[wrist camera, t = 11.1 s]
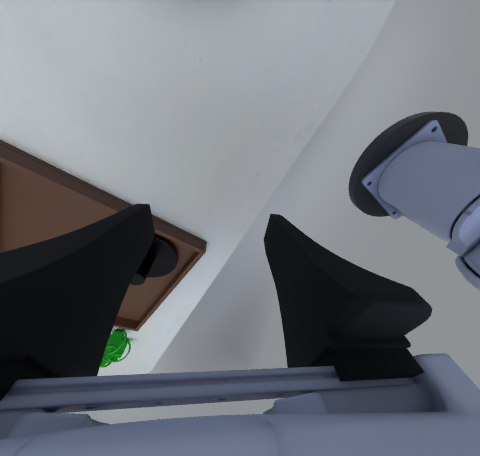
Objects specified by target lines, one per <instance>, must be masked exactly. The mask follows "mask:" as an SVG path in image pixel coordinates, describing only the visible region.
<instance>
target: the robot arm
mask: <svg viewBox="0 0 480 456" xmlns="http://www.w3.org/2000/svg"><path fill="white" fill-rule="evenodd" d="M432 129H433V130H432ZM368 182H369V183H368ZM361 183H362V184H363V185H364V187H365V188H366V189H367V190H368V191H369V192H370V193H371V194H372V196H373V197H374V198H375V199H376V200H377V201H378V202H379V204H380V205H381V206H382V207H383V208H384V209H385V210H386V212H387V213H388V214H389V215H390V216H391V217H392V218H393V219H398V218H400V217H401V216H403V215H404V216H405V217H407V218H408V219H410V220H412V221H413V222H415V223H417V224H418V225H420V226H421V227H423V228H425V229H426V230H428V231H430V232H431V233H433V234H434V235H436V236H438V237H439V238H441V239H443V240H445V241H447V242H449V244H448V245H447V248H449V249H450V250H452V251H453V252H455V253H457V254H458V256H457V258H456V260H455V263H456V266H457V267H458V269H459V271H460V272H461V273H462V275H463V276H464V277H465V279H466V280H467V281H468V282H470V283H471V284H472V285H473V286H474V287H476V288H477V289H478V290H479V291H480V148H473V147H468V146H462V145H455V144H449V143H447V141H446V138H445V136H444V134H443V132H442V129H441V127H440V125H439V123H438V121H437V120H430V121H429V122H427V123H426V124H425V125H424V126H423V127H422V128H420V129H419V130H418V131H417V132H416V133H415V134H413V135H412V136H411V137H410V138H409V139H408V140H406V141H405V142H404V143H403V144H402V145H401V146H400V147H398V148H397V149H396V150H395V151H394V152H393V153H391V154H390V155H389V156H388V157H387V158H386V159H384V160H383V161H382V162H381V163H380V164H379V165H377V166H376V167H375V168H374V169H373V170H372V171H371V172H369V173H368V174H367V175H366V176H365V177H364V178H363V179H362V180H361ZM367 183H368V184H367ZM154 235H155V229H154V224H153V219H152V215H151V210H150V205H149V204H136V205H133V206H130V207H128V208H126V209H124V210H122V211H119V212H117V213H115V214H113V215H111V216H108V217H106V218H104V219H102V220H99V221H97V222H95V223H92V224H90V225H87V226H85V227H83V228H80V229H78V230H75V231H72V232H69V233H66V234H64V235H61V236H58V237H55V238H52V239H48V240H45V241H41V242H38V243H34V244H31V245H27V246H24V247H20V248H17V249H13V250H9V251H5V252H1V253H0V456H480V390H479V389H478V388H477V386H476V385H475V384H474V383H473V382H472V381H471V380H470V378H469V377H468V376H467V375H466V374H465V373H464V372H463V371H462V370H461V368H460V367H459V366H458V365H457V364H456V363H455V362H454V361H453V359H451V357H450V356H449V355H447V354H444V353H442V354H421V355H416V356H412V355H411V353H410V352H409V351H408V349H407V348H409V347H410V346H411V345H410V342H409V341H408V340H407V338H406V337H405V336H404V335H406V334H407V333H408V332H410V331H412V330H413V329H415V328H416V327H418V326H419V325H421V324H422V323H424V322H425V321H426V320H427V319H428V318H429V317H430V316H431V312H432V308H431V306H430V305H429V304H428V303H427V302H426V301H425V300H424V299H423V298H422V297H421V296H420V295H419V294H418V293H417V292H416V291H415V290H414V289H412V288H411V287H408V286H405V285H403V284H400V283H397V282H395V281H392V280H389V279H387V278H384V277H381V276H379V275H377V274H374V273H372V272H370V271H368V270H365V269H363V268H361V267H359V266H357V265H355V264H353V263H351V262H349V261H347V260H345V259H343V258H341V257H339V256H337V255H335V254H334V253H332V252H330V251H329V250H327V249H325V248H324V247H322V246H320V245H319V244H318V243H316V242H314V241H313V240H312V239H311V238H309V237H308V236H306V235H305V234H304V233H303V232H301V231H300V230H299V229H298V228H296V227H295V226H294V225H293V224H291V223H290V222H289V221H287V220H286V219H285V218H284V217H283V216H281V215H276V214H270V218H269V222H268V226H267V229H266V233H265V237H264V245H265V250H266V255H267V258H268V262H269V265H270V269H271V272H272V275H273V279H274V282H275V286H276V290H277V295H278V300H279V306H280V312H281V318H282V324H283V332H284V339H285V348H286V356H287V365H288V368H277V369H252V370H229V371H207V372H184V373H160V374H137V375H114V376H97V374H98V371H99V367H100V364H101V361H102V358H103V355H104V352H105V348H106V345H107V342H108V339H109V337H110V334H111V331H112V328H113V325H114V322H115V320H116V317H117V314H118V312H119V309H120V307H121V304H122V302H123V299H124V297H125V294H126V292H127V290H128V287H129V285H130V283H131V281H132V279H133V277H134V275H135V274H136V272H137V270H138V268H139V266H140V265H141V263H142V261H143V259H144V257H145V256H146V254H147V252H148V250H149V248H150V246H151V243H152V241H153V238H154ZM275 398H283V399H279V400H275V402H274V406H273V407H272V408H271V409H269V410H267V411H266V412H264V413H263V414H256V415H255V414H252V415H219V416H201V417H186V418H185V417H184V418H172V419H159V420H148V421H138V422H128V423H119V424H107V423H102V422H98V421H96V420H93V419H91V417H90V416H89V415H88V414H68V413H66V412H81V411H96V410H111V409H126V408H141V407H155V406H169V405H185V404H199V403H215V402H230V401H244V400H260V399H275Z"/></svg>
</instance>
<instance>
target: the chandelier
mask: <svg viewBox="0 0 480 456" xmlns="http://www.w3.org/2000/svg"><path fill="white" fill-rule="evenodd" d="M122 332H124V333H122ZM124 334H125V336H124ZM123 337H124V338H123ZM126 338H127V333H126V332H125V331H124V330H117V331H115V332H114V333H112V334H111V335H110V337H109V339H110V340H109V339H108V341H109V342H108V344H107V345H106V348H105V352H104V355H103V358H102V361H101V364H100V367H107V366H108V365H110V364H111V362H119V361H121V360H123V359H124V358H125V357H126V356H127V355H128V354H129V352H130V349H131V344H130V342H129V340H127V339H126ZM127 342H128V344H129V351H128V353H127V355H126V356H125V357H124V358H122V359H120V360H117V359H118V358H120V357H121V356H122V354H123V353H124V350H125V348H126V346H127ZM109 361H110V362H109ZM108 362H109V363H108ZM106 363H108V364H107V365H105V364H106ZM103 365H105V366H103Z"/></svg>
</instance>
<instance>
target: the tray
mask: <svg viewBox="0 0 480 456" xmlns="http://www.w3.org/2000/svg"><path fill="white" fill-rule="evenodd" d="M130 206H133V205H131V204H129V203H127V202H124V201H122V200H120V199H118V198H116V197H114V196H112V195H110V194H108V193H106V192H104V191H102V190H100V189H98V188H96V187H94V186H92V185H90V184H88V183H86V182H84V181H82V180H80V179H78V178H76V177H74V176H72V175H70V174H68V173H66V172H64V171H62V170H60V169H58V168H56V167H54V166H52V165H50V164H48V163H46V162H44V161H42V160H39V159H37V158H35V157H33V156H31V155H29V154H27V153H25V152H23V151H21V150H19V149H17V148H15V147H13V146H11V145H9V144H7V143H5V142H3V141H1V140H0V253H1V252H5V251H9V250H13V249H17V248H20V247H24V246H27V245H31V244H34V243H38V242H41V241H45V240H48V239H52V238H55V237H58V236H61V235H64V234H66V233H69V232H72V231H75V230H78V229H80V228H83V227H85V226H87V225H90V224H92V223H95V222H97V221H99V220H102V219H104V218H106V217H108V216H111V215H113V214H115V213H117V212H119V211H122V210H124V209H126V208H128V207H130ZM152 219H153V224H154V229H155V235H157V236H159V237H161V238H163V239H165V240H166V241H168V242H169V243H170V244H171V245H172V246H173V247H174V248H175V250H176V252H177V255H178V262H177V265H176V267H175V269H174V270H173V271H172V272H171V273H169V274H167V275H165V276H162V277H154V278H150V277H146V280H145V282H144V283H143V284H142V285H131V284H130V285H129V287H128V290H127V292H126V294H125V297H124V299H123V302H122V304H121V307H120V309H119V312H118V314H117V317H116V320H115V322H114V325H113V326H114V327H119V328H124V329H128V330H133V331H138V330H139V329H140V328H141V327H142V325H143V324H144V323H145V322H146V321H147V320H148V318H149V317H150V316H151V315H152V314H153V313H154V311H155V310H156V309H157V308H158V307H159V306H160V304H161V303H162V302H163V301H164V300H165V299H166V297H167V296H168V295H169V294H170V293H171V292H172V291H173V289H174V288H175V287H176V286H177V285H178V284H179V282H180V281H181V280H182V279H183V278H184V277H185V275H186V274H187V273H188V272H189V271H190V270H191V268H192V267H193V266H194V265H195V264H196V263H197V261H198V260H199V259H200V258H201V257H202V256H203V254H204V253H205V252H206V245H207V242H205V241H203V240H201V239H199V238H197V237H195V236H193V235H191V234H189V233H187V232H185V231H183V230H181V229H179V228H177V227H175V226H173V225H171V224H169V223H167V222H165V221H163V220H161V219H159V218H157V217H155V216H153V215H152Z"/></svg>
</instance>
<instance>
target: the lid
mask: <svg viewBox="0 0 480 456" xmlns="http://www.w3.org/2000/svg"><path fill="white" fill-rule="evenodd" d="M177 262H178V255H177V252H176V250H175V248H174V247H173V246H172V245H171V244H170V243H169V242H168V241H166V240H165V239H163V238H161V237H159V236H157V235H154V238H153V241H152V243H151V246H150V248H149V250H148V252H147V254H146V256H145V257H144V259H143V261H142V263H141V265H140V266H139V268H138V270H137V272H136V274H135V275H134V277H133V279H132V281H131V283H130V284H131V285H142V284H143V283H144V282H145V280H146V277H150V278H154V277H162V276H165V275H167V274H169V273H171V272H172V271H173V270H174V269H175V267H176V265H177Z"/></svg>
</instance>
